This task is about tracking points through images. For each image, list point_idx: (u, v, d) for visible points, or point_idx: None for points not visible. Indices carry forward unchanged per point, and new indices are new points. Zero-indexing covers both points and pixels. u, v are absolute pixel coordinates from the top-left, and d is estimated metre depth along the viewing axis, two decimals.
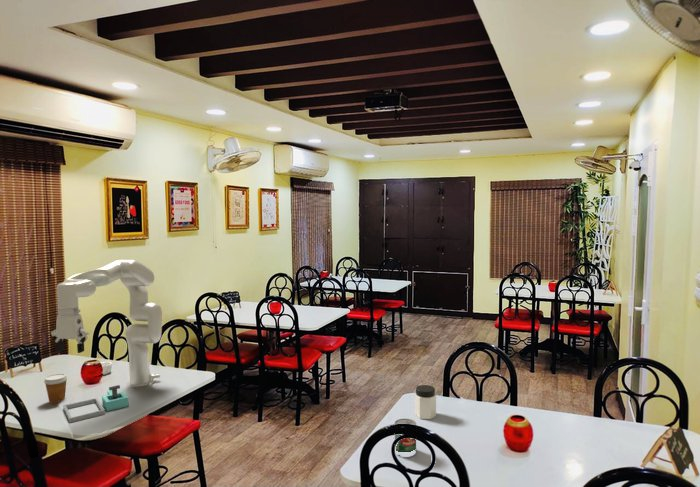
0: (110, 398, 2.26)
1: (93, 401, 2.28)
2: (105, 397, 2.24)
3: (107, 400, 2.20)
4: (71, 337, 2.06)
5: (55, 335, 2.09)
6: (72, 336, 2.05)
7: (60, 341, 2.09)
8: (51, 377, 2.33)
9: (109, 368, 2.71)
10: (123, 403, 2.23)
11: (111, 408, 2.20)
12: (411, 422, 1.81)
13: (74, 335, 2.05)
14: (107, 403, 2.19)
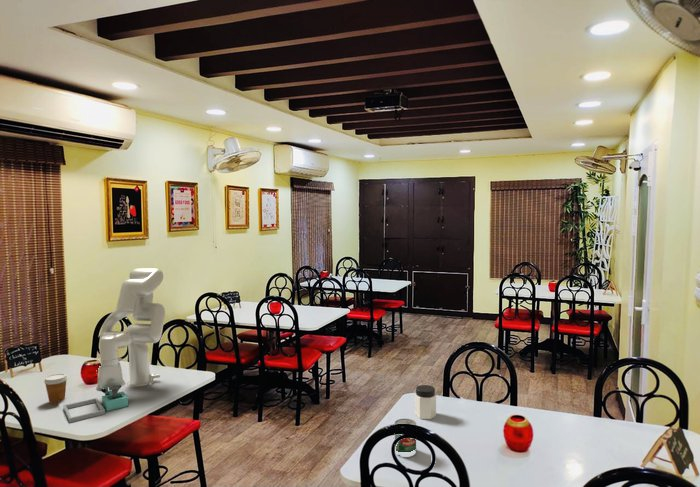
0: (110, 398, 2.26)
1: (93, 401, 2.28)
2: (105, 397, 2.24)
3: (107, 400, 2.20)
4: (117, 383, 2.30)
5: (102, 388, 2.28)
6: (118, 382, 2.30)
7: None
8: (51, 377, 2.33)
9: None
10: (123, 403, 2.23)
11: (111, 408, 2.20)
12: (411, 422, 1.81)
13: (120, 381, 2.31)
14: (107, 403, 2.19)
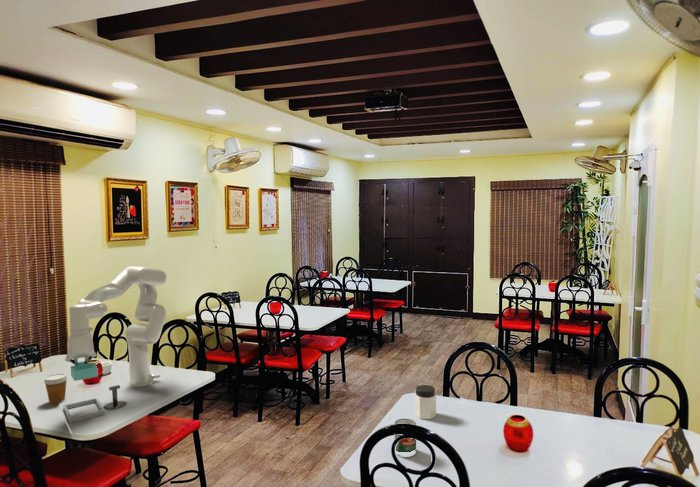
0: (79, 368, 2.18)
1: (93, 401, 2.28)
2: (74, 367, 2.16)
3: (75, 370, 2.12)
4: (88, 354, 2.21)
5: (72, 359, 2.19)
6: (89, 353, 2.21)
7: None
8: (51, 377, 2.33)
9: (109, 368, 2.71)
10: (92, 373, 2.15)
11: (79, 378, 2.12)
12: (411, 422, 1.81)
13: (91, 352, 2.22)
14: (75, 373, 2.10)
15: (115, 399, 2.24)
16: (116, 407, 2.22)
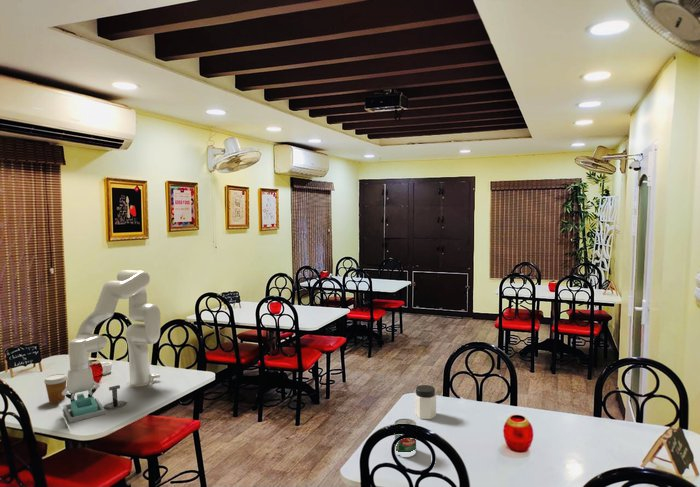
0: (79, 404, 2.18)
1: None
2: (74, 403, 2.16)
3: (75, 408, 2.13)
4: (87, 388, 2.22)
5: None
6: (89, 387, 2.22)
7: None
8: (51, 377, 2.33)
9: (109, 368, 2.71)
10: (92, 411, 2.15)
11: None
12: (411, 422, 1.81)
13: (91, 386, 2.22)
14: (75, 412, 2.11)
15: (115, 399, 2.24)
16: (116, 407, 2.22)
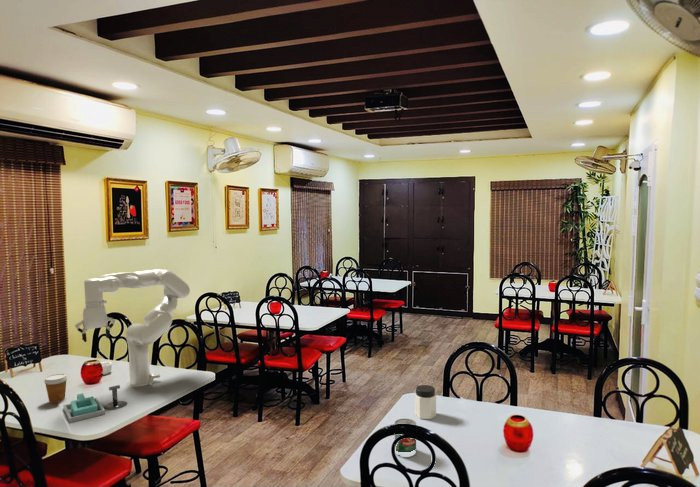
0: (79, 404, 2.18)
1: None
2: (74, 403, 2.16)
3: (75, 408, 2.13)
4: (102, 325, 2.35)
5: (79, 327, 2.31)
6: (103, 324, 2.35)
7: None
8: (51, 377, 2.33)
9: (109, 368, 2.71)
10: (92, 411, 2.15)
11: None
12: (411, 422, 1.81)
13: (105, 323, 2.36)
14: (75, 412, 2.11)
15: (115, 399, 2.24)
16: (116, 407, 2.22)
